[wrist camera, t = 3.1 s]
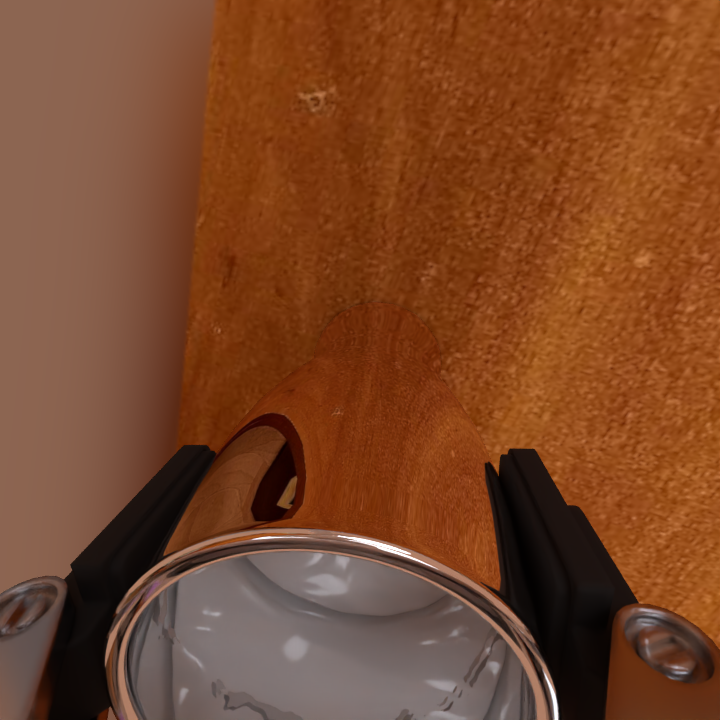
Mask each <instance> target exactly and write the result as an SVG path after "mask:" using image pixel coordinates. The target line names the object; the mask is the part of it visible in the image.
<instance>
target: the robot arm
mask: <svg viewBox="0 0 720 720" xmlns="http://www.w3.org/2000/svg"><path fill="white" fill-rule="evenodd" d="M215 454H216V453H215V452H214V451H210V448H209V447H208V446H207V445H184V446H183V447H182V448H181V449H180V450H179V451H178V452H177V453H176V454H175V455H174V456H173V457H172V458H171V459H170V460H169V461H168V462H167V463H166V464H165V465H164V467H163V468H162V469H161V470H160V471H159V472H158V473H157V474H156V475H155V476H154V477H153V478H152V479H151V480H150V481H149V483H147V484H146V485H145V487H144V488H143V489H142V490H141V491H140V492H139V493H138V494H137V495H136V496H135V497H134V498H133V499H132V500H131V501H130V502H129V503H128V505H127V506H126V507H125V508H124V509H123V510H122V511H121V512H120V513H119V514H118V515H117V516H116V517H115V518H114V519H113V520H112V521H111V522H110V524H108V526H107V527H106V528H105V529H104V530H103V531H102V532H101V533H100V534H99V535H98V536H97V537H96V538H95V539H94V540H93V541H92V542H91V544H90V545H89V546H88V547H87V548H86V549H85V550H84V551H83V552H82V553H81V554H80V555H79V556H78V557H77V558H76V559H75V560H74V561H73V562H72V563H71V568H72V571H71V573H70V574H69V575H68V576H67V577H66V578H65V579H61V578H59V577H57V576H43V577H38V578H33V579H30V580H27V581H25V582H22V583H19V584H17V585H15V586H14V587H11V588H10V589H8V590H6V591H4V592H3V593H1V594H0V720H107V718H108V711H109V707H111V705H110V703H109V700H108V697H107V694H106V690H105V686H104V681H103V673H102V651H103V644H104V638H105V634H106V631H107V628H108V625H109V622H110V620H111V617H112V615H113V613H114V611H115V609H116V607H117V606H118V604H119V602H120V601H121V599H122V598H123V596H124V595H125V594H126V592H127V591H128V590H129V589H130V588H131V586H132V585H133V584H134V583H135V582H136V580H137V579H138V577H139V576H140V574H141V573H142V571H143V570H144V568H145V566H146V565H147V563H148V561H149V560H150V558H151V557H152V555H153V553H154V552H155V550H156V549H157V547H158V545H159V543H160V542H161V540H162V538H163V537H164V535H165V533H166V531H167V530H168V528H169V526H170V525H171V523H172V521H173V520H174V518H175V516H176V514H177V513H178V511H179V510H180V508H181V506H182V505H183V503H184V502H185V500H186V498H187V497H188V495H189V494H190V492H191V490H192V489H193V487H194V486H195V484H196V482H197V481H198V479H199V478H200V476H201V474H202V473H203V471H204V470H205V468H206V467H207V465H208V464H209V463H210V461H211V460H212V458H213V457H214V456H215ZM499 479H500V482H501V485H502V489H503V492H504V495H505V498H506V501H507V504H508V507H509V510H510V513H511V516H512V520H513V523H514V526H515V530H516V534H517V538H518V541H519V545H520V549H521V553H522V557H523V561H524V564H525V568H526V572H527V576H528V580H529V584H530V589H531V593H532V597H533V602H534V606H535V610H536V614H537V619H538V623H539V627H540V631H541V635H542V639H543V642H544V646H545V650H546V653H547V657H548V659H549V661H550V664H551V666H552V668H553V671H554V673H555V677H556V680H557V683H558V687H559V692H560V697H561V707H562V720H720V650H719V649H718V647H717V646H716V645H715V643H714V642H713V641H712V640H711V639H710V638H709V637H708V636H707V635H706V634H705V633H704V632H703V631H702V630H701V629H700V628H699V627H697V626H696V625H694V624H693V623H691V622H690V621H688V620H687V619H685V618H684V617H682V616H680V615H678V614H676V613H674V612H672V611H670V610H668V609H665V608H662V607H658V606H654V605H651V604H639V602H638V601H637V599H636V597H635V596H634V594H633V593H632V591H631V589H630V588H629V586H628V584H627V583H626V581H625V580H624V578H623V576H622V575H621V573H620V571H619V570H618V568H617V567H616V565H615V563H614V562H613V560H612V558H611V557H610V555H609V554H608V552H607V550H606V549H605V547H604V545H603V544H602V542H601V541H600V539H599V537H598V536H597V534H596V532H595V531H594V529H593V528H592V526H591V524H590V523H589V521H588V519H587V518H586V516H585V515H584V513H583V512H582V510H581V509H580V508H579V507H577V506H573V505H567V504H566V502H565V501H564V499H563V497H562V495H561V494H560V492H559V490H558V489H557V487H556V485H555V483H554V482H553V480H552V478H551V476H550V475H549V473H548V471H547V469H546V468H545V466H544V464H543V462H542V461H541V459H540V457H539V455H538V454H537V452H536V451H535V449H509V451H508V455H504V454H502V455H501V457H500V464H499Z"/></svg>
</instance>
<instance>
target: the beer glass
mask: <svg viewBox="0 0 720 720" xmlns="http://www.w3.org/2000/svg"><path fill="white" fill-rule="evenodd" d="M441 369H442V363H441V354H440V349H439V346H438V343H437V341H436V338H435V336H434V335H433V333H432V331H431V330H430V328H429V327H428V326H427V325H426V323H425V322H424V321H423V320H422V319H420V318H419V317H418V316H417V315H415V314H414V313H412V312H411V311H409V310H407V309H405V308H403V307H400V306H397V305H394V304H390V303H383V302H371V303H364V304H359V305H356V306H353V307H351V308H348V309H346V310H344V311H343V312H341V313H340V314H338V315H337V316H336V317H334V318H333V319H332V320H331V321H330V322H329V323H328V324H327V326H326V327H325V328H324V330H323V331H322V333H321V335H320V337H319V339H318V341H317V344H316V347H315V352H314V357H313V359H311V360H310V361H308V362H307V363H305V364H303V365H302V366H300V367H299V368H297V369H296V370H294V371H293V372H292V373H290V374H289V375H288V376H286V377H285V378H284V379H283V380H282V381H280V382H279V383H278V384H277V385H275V386H274V387H273V388H272V389H271V390H269V391H268V392H267V393H266V394H265V395H264V396H263V397H262V398H261V399H260V400H259V401H258V402H257V403H256V404H255V405H254V406H253V407H252V409H251V410H250V411H249V412H248V413H247V414H246V415H245V417H244V418H243V419H242V420H241V421H240V422H239V424H238V425H237V426H236V427H235V428H234V429H233V431H232V432H231V433H230V434H229V436H228V437H227V439H226V440H225V441H224V443H223V444H222V446H221V447H220V448H219V450H218V451H217V453H216V454H215V456H214V457H213V458H212V460H211V461H210V463H209V464H208V465H207V467H206V468H205V470H204V471H203V473H202V474H201V476H200V478H199V479H198V481H197V482H196V484H195V486H194V487H193V489H192V490H191V492H190V494H189V495H188V497H187V498H186V500H185V502H184V503H183V505H182V506H181V508H180V510H179V511H178V513H177V514H176V516H175V518H174V520H173V521H172V523H171V525H170V526H169V528H168V530H167V531H166V533H165V535H164V537H163V538H162V540H161V542H160V543H159V545H158V547H157V549H156V550H155V552H154V553H153V555H152V557H151V558H150V560H149V561H148V563H147V565H146V566H145V568H144V570H143V571H142V573H141V574H140V576H139V577H138V579H137V580H136V582H135V583H134V584H133V585H132V586H131V588H130V589H129V590H128V591H127V592H126V594H125V595H124V596H123V598H122V599H121V601H120V602H119V604H118V606H117V607H116V609H115V611H114V613H113V615H112V617H111V620H110V622H109V625H108V628H107V631H106V634H105V638H104V644H103V651H102V673H103V681H104V686H105V690H106V694H107V697H108V700H109V703H110V705H111V708H112V710H113V713H114V715H115V717H116V719H117V720H562V707H561V697H560V692H559V687H558V683H557V680H556V677H555V673H554V671H553V668H552V666H551V664H550V661H549V659H548V657H547V653H546V650H545V646H544V642H543V639H542V635H541V631H540V627H539V623H538V619H537V614H536V610H535V606H534V602H533V597H532V593H531V589H530V584H529V580H528V576H527V572H526V568H525V564H524V561H523V557H522V553H521V549H520V545H519V541H518V538H517V534H516V530H515V526H514V523H513V520H512V516H511V513H510V510H509V507H508V504H507V501H506V498H505V495H504V492H503V489H502V485H501V482H500V479H499V477H498V474H497V472H496V469H495V467H494V465H493V462H492V460H491V458H490V456H489V453H488V451H487V449H486V446H485V444H484V442H483V440H482V437H481V435H480V433H479V431H478V430H477V428H476V426H475V425H474V423H473V422H472V420H471V419H470V417H469V416H468V414H467V413H466V411H465V409H464V408H463V406H462V405H461V403H460V402H459V400H458V399H457V398H456V396H455V395H454V394H453V393H452V392H451V390H450V389H449V388H448V387H447V385H446V384H445V383H444V382H443V381H442V379H441V378H440V377H441Z"/></svg>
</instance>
